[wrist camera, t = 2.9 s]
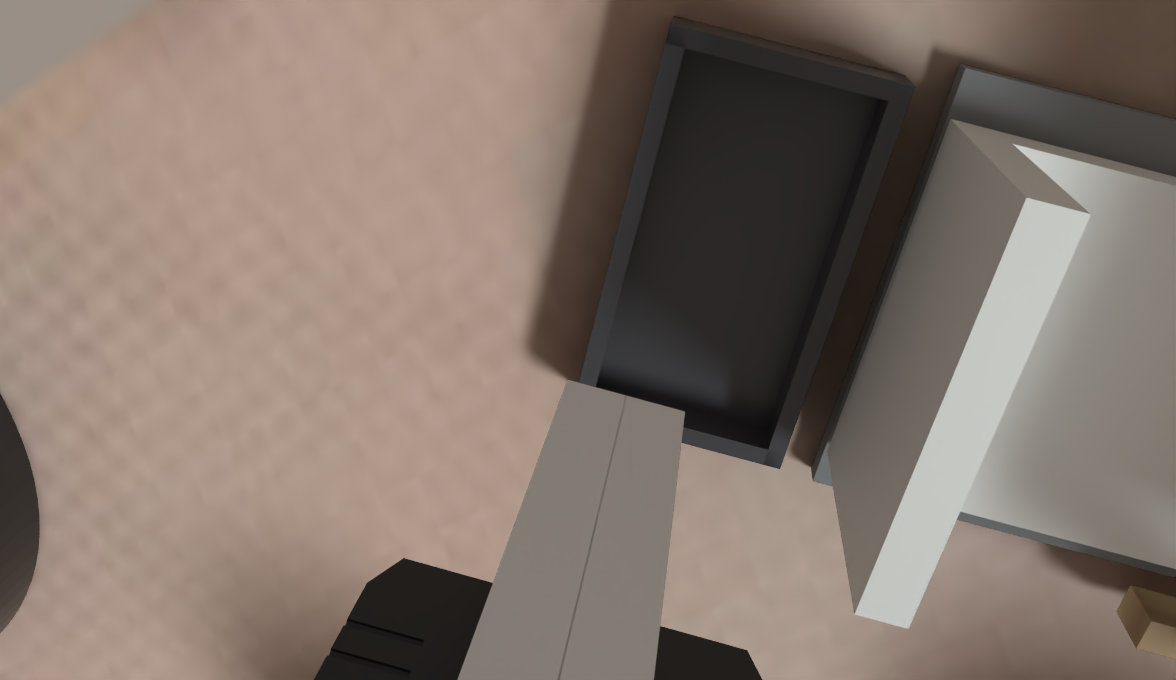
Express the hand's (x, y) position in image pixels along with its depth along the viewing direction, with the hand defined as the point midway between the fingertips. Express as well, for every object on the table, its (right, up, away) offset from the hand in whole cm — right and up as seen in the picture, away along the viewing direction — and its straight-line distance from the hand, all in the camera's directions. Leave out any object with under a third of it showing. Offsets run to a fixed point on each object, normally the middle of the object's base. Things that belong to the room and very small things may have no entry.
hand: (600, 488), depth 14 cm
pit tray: (+3, +4, +11) cm, 12 cm away
